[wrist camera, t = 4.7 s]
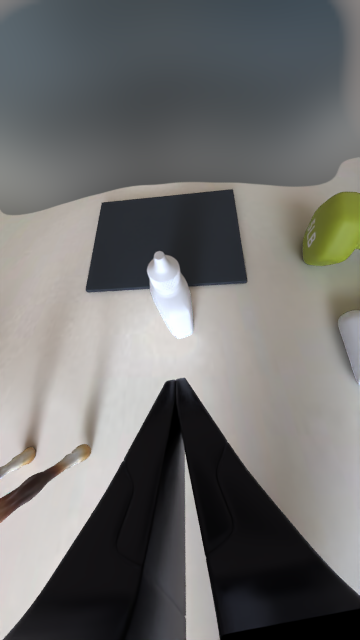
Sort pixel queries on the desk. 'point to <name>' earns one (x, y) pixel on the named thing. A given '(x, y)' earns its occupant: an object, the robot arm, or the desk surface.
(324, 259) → the dumbbell
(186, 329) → the eye dropper bottle
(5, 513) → the horse figurine
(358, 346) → the icon
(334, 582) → the robot arm
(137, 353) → the desk surface
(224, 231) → the mat
